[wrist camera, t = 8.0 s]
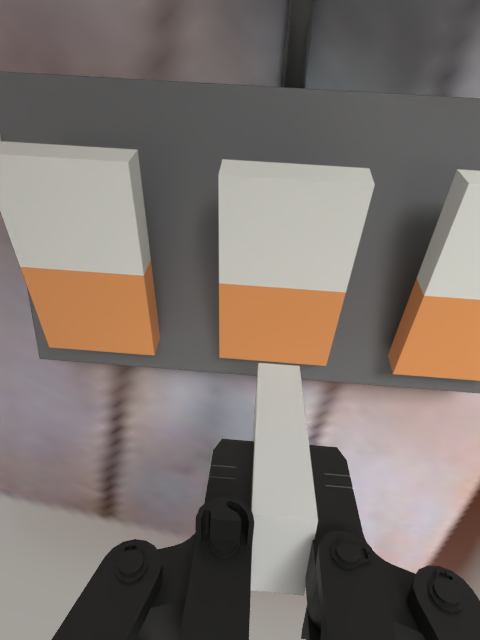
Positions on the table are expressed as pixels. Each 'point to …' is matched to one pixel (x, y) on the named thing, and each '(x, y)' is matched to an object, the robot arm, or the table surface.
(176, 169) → the power strip
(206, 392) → the table surface
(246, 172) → the switch middle
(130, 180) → the switch
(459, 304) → the switch
